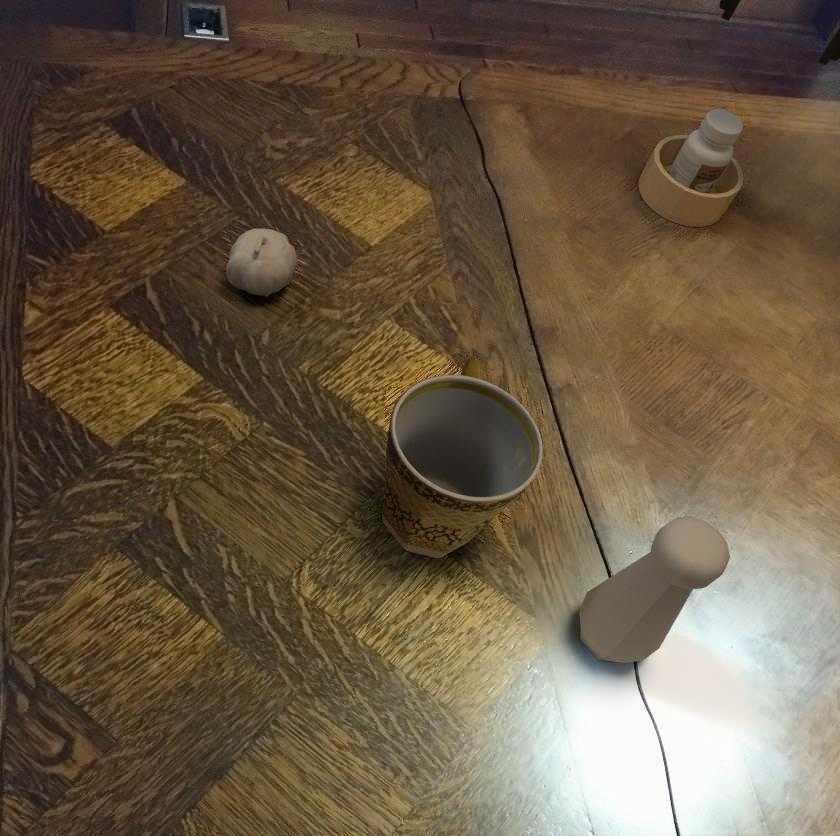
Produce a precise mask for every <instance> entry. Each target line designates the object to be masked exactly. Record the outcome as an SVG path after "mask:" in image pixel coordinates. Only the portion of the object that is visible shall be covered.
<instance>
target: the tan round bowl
mask: <svg viewBox="0 0 840 836" xmlns="http://www.w3.org/2000/svg"><path fill="white" fill-rule="evenodd" d="M688 136H689V135H687V134H677V135H671V136H667V137H665V138H663V139H661V140H659V141H658V143H657V144H656V145H655V148H654V149H653V151H652V153H651V155H650V156H649V159H648V160H647V162H646V164H645V166H644V167H643V170H642V172H641V173H640V175H639V178H638V183H637V185H638V186H637V187H638V191H639V195H640V196H641V198H642V200H643V202H644V203H645V204H646V205H647V206H648V207H649V208H650V209H651V210H652V211H653V212H654V213H656V214H658V215H659V216H660V217H662V218H664V219H665V220H667V221H669V222H671V223H675V224H677V225H680V226H686V227H692V228H694V227H695V228H701V227H703V228H704V227H708V226H711V225H714V224H715V223H717V222H718V221H719V220H720V219H722V217H723V216H724V215H725V213H726V212H727V211H728V208H730V205H731V204H732V203H733V201H734V199H735V198H736V196H737V194H739V192H740V190H741V187H742V186H743V185H744V175H743V173H744V172H743V170H742V168H741V166H740V165H739V162H738V160H736V159H735V158H734V156H732V158H731V160H730V161H729V163H728V165H727V166H726V168H725V169H724V171H723V173H722V174H721V176H720V177H719V179H718V181H717V182H716V184H715V185H714V187H713V189H712V190H711V192H710V193H701V192H698V191H695V190H692V189H690V188H687V187H685V186H684V185H682V184H680V183H679V182H677V181H675V180H674V179H673V178H672V177H671V176H670V175H669V174H668V171H669V169H670V167H671V166H672V164H673V162H674V160H675V159H676V157H677V155H678V153H679V152H680V150H681V148H682V146H683V144H684V143H685V141H686V139H687V137H688Z"/></svg>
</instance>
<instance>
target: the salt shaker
mask: <svg viewBox="0 0 840 836" xmlns="http://www.w3.org/2000/svg"><path fill="white" fill-rule="evenodd" d="M650 546H651V547H650V551H649V552H648V553H646V554H645V555H643V556H642V557H640V558H638V559H637V560H635V561H634V562H632V563H631V564H629V565H627V566H626V567H625V568H623V569H622V570H620V571H618V572H616V573H615V574H614V575H611V576H610V577H609V578H607V579H605V580H604V581H602V582H601V583H599V584H598V585H597V586H595V587H593V588H591V589H590V590H588V591H587V592H586V593H585V596H584V598H583V601H582V604H581V606H580V609H579V611H578V612H579V621H580V622H579V623H580V638H579V639H580V641H581V642H582V643H583V645H584V646H586V648H587V649H588V650H589V651H590V652H591V654H592V655H594V657H595V658H596V659H597V660H598V661H605V662H614V663H615V662H616V663H622V664H623V663H624V664H627V663H634V662H642V661H644V660H646V659H647V658H649V657H650V656H652V655H653V654H655V652H656V651H658V650H659V649H660V648H661V647H662V644H663V643H664V641H665V640H666V637H667V635H668V634H669V632H670V630H671V629H672V627H673V625H674V623H675V622H676V620H677V618H678V617H679V616H680V615H679V614H680V613H681V612H682V609H683V608H684V606H685V605H686V603H687V601H688V600H689V598H690V596H691V594H692V592H693V590H699V589H700V590H701V589H705V588H708V586H709V585H711V584H713V582H715V581H716V580H718V579H719V578H721V576H723V574H724V572H725V571H726V570H727V568H728V564H729V561H730V559H731V555H730V550H729V545H728V542H727V541H726V539H725V538H724V537H723V535H722V533H721V532H720V530H718V529H717V528H716V527H714V526H713V525H712V524H711V523H709V522H708V521H706V520H703V519H700V518H698V517H694V516H691V515H689V516H688V515H687V516H679V517H676V518H674V519H673V520H670V521H669V522H668V523H665V524H664V525H663V526H662V527H660V528H659V529H658V531H656V534H655V535H654V538H653V541H652V543H651V545H650Z"/></svg>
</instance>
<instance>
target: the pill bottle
mask: <svg viewBox="0 0 840 836" xmlns="http://www.w3.org/2000/svg"><path fill="white" fill-rule="evenodd" d="M743 129H744V126H743V122H742V121H741V120H740V118H739V117H738V116H737V115H736V114H734V113H732V112H731V111H728V110H724V109H717V108H715V109H711V110H709V111H708V112H706V114H705V115H704V118H703V119H702V121H701V123H700V125H699V128H698V129H695V130H693V131H692V132H690V133H689V135H687V136H688V137H687V139H686V141H685V143H684V144H683V146H682V148H681V150H680V152H679V153H678V155H677V157H676V159H675V160H674V162H673V164H672V166H671V167H670V169H669V171H668V174H669V175H670V176H671V177H672V178H673V179H674V180H675V181H677V182H679V183H680V184H682V185H684V186H685V187H687V188H690V189H692V190H695V191H698V192H701V193H710V192H711V190H712V189H713V187H714V185H715V184H716V182H717V181H718V179H719V177H720V176H721V174H722V173H723V171H724V169H725V168H726V166H727V165H728V163H729V161H730V160H731V158H732V157H734V153H735V152H734V145H735V143H736V141H737V140H738V138H739V136H740V135H741V133H742V131H743Z"/></svg>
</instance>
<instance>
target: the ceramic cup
mask: <svg viewBox="0 0 840 836" xmlns="http://www.w3.org/2000/svg"><path fill="white" fill-rule="evenodd" d="M480 378H481V367H480V362H479V360H477V359H474V358H472V357H471V358H467V359H466V360H465V362H464V364H463V367H462V369H461V372H460V374H441V375H435V376H431V377H428V378H423V379H422V380H419V381H417V382H416V383H414V384H412V385H411V386H410V387H408V388H406V390H404V392H402V394H401V395H399V397H398V399H397V400H396V402H395V403H394V406H393V407H392V410H391V414H390V418H389V424H388V430H387V439H386V452H385V453H386V454H385V469H386V471H385V472H386V480H385V490H384V498H383V507H382V517H381V518H382V519H381V520H382V522H383V524H384V526H385V527H386V529H387V530H388V531H389V532H390V534H391V535H392V536H393V537H394V538H395V541H397V543H398V544H399V546H401V548H402V549H403V550H404V551H406V552H410V553H414V554H418V555H422V556H426V557H430V558H433V559H441V558H442V557H445V556H446V555H448V554H450V553H451V552H454V551H455V550H457V549H459V548H461V547H462V546H464V545H466V544H467V543H469V542H470V541H471V540H472V539H473V538H475V537H476V536H477V535H478V534H479V533H480V531H481V530H482V529H484V528H485V527H486V526H487V525H488V524H489V523H490V522H492V520H493V519H495V517H497V516H498V514H499V513H501V512H502V511H503V510H505V509H506V508H508V506H510V505H511V504H512V503H514V501H515V500H516V499H517V498H518V497H520V496H521V495H522V494H523V493H524V492H525V491H526V490H527V488H528V487H529V486H530V484H531V483H532V482H533V481H534V480H535V478H536V476H537V475H538V473H539V470H540V468H541V464H542V461H543V441H542V437H541V434H540V431H539V428H538V426H537V424H536V422H535V420H534V418H533V417H532V416H531V414H530V413H529V411H528V410H527V409H526V408H525V407H524V405H523V404H521V402H520V401H519V400H518V399H516V397H514V396H513V395H511V394H510V393H509V392H507V391H506V390H504V389H502V388H501V387H499V386H497V385H495V384H493V383H491V382H488V381H486V380H484V379H480Z"/></svg>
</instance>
